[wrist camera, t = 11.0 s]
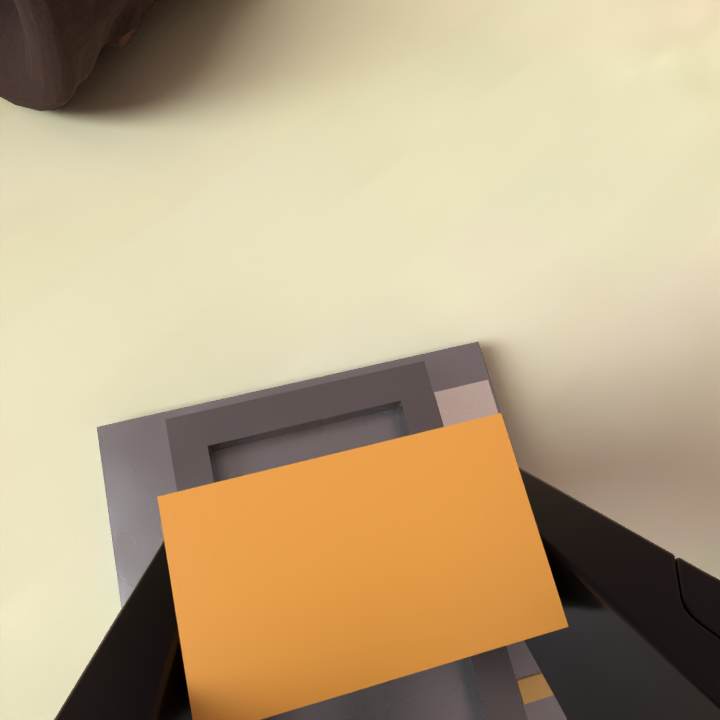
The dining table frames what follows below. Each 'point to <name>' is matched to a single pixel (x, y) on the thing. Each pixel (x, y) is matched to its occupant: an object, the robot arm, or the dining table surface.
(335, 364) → the dining table surface
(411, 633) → the breaker toggle
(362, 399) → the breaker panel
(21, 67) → the dark brown bent piece
